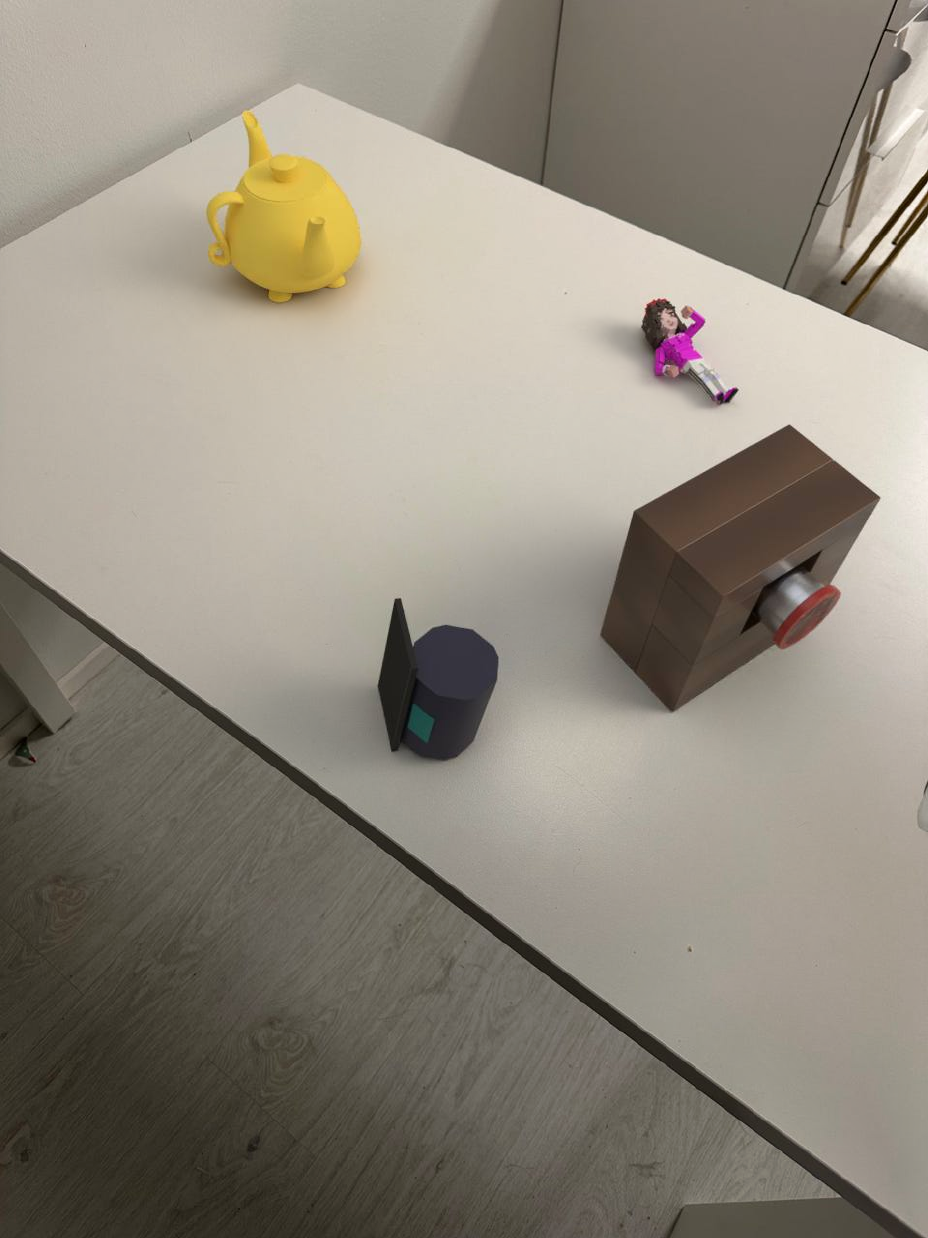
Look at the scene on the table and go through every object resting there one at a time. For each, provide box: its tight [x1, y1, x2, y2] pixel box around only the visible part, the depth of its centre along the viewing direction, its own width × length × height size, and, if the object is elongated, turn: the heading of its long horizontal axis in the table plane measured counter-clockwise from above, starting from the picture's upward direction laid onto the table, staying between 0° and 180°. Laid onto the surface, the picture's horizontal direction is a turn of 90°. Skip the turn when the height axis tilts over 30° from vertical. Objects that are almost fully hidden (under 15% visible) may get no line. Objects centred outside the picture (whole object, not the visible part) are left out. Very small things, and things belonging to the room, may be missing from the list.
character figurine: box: [640, 297, 739, 406], centre depth 86 cm, size 6×5×12 cm
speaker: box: [377, 597, 500, 761], centre depth 61 cm, size 8×6×10 cm
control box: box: [599, 424, 882, 713], centre depth 65 cm, size 8×14×14 cm, turn 125°
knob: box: [751, 564, 842, 650], centre depth 61 cm, size 4×5×5 cm
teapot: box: [205, 110, 362, 303], centre depth 89 cm, size 20×15×12 cm
